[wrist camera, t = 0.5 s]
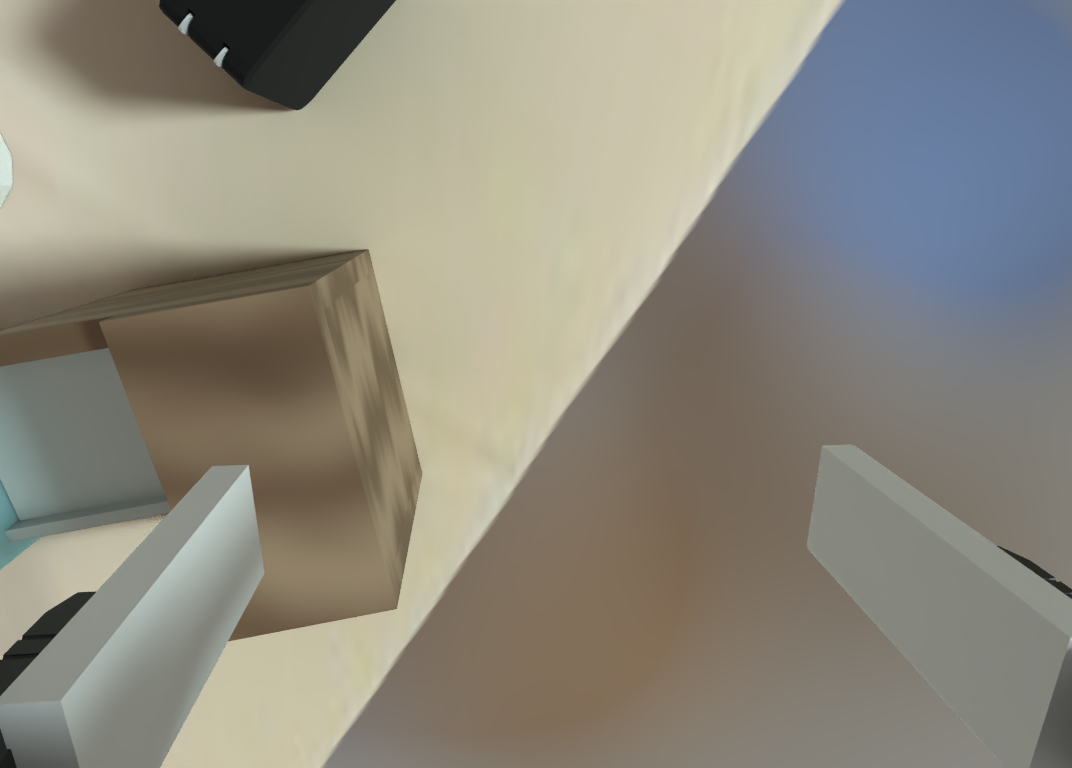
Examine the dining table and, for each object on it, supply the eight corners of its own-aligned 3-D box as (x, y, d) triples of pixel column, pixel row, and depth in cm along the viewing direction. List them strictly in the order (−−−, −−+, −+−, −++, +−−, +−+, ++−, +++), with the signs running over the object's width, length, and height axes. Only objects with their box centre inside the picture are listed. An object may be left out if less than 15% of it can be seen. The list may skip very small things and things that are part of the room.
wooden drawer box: (132, 289, 37) (-62, 350, 24) (368, 249, 38) (308, 285, 24) (212, 512, 42) (88, 668, 29) (422, 474, 43) (396, 608, 29)
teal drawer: (-70, 333, 37) (-150, 355, 32) (160, 293, 38) (115, 309, 33) (27, 539, 42) (-31, 585, 37) (233, 501, 42) (202, 542, 37)
